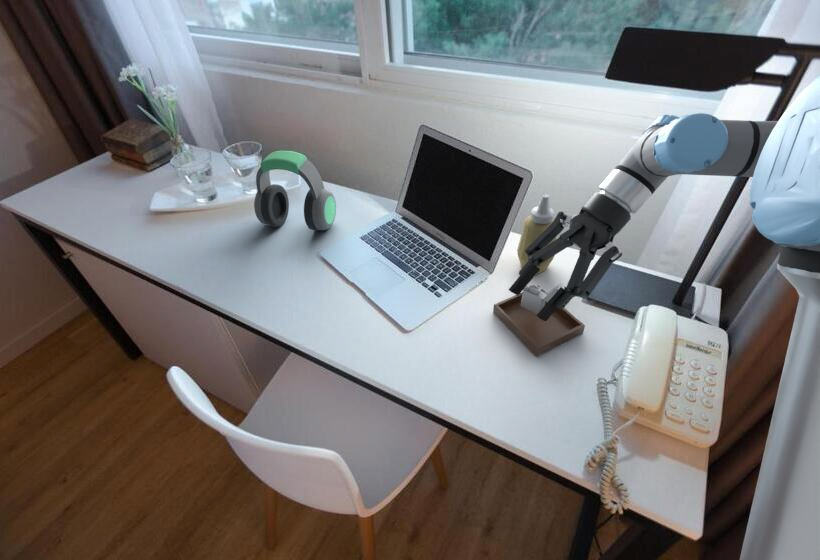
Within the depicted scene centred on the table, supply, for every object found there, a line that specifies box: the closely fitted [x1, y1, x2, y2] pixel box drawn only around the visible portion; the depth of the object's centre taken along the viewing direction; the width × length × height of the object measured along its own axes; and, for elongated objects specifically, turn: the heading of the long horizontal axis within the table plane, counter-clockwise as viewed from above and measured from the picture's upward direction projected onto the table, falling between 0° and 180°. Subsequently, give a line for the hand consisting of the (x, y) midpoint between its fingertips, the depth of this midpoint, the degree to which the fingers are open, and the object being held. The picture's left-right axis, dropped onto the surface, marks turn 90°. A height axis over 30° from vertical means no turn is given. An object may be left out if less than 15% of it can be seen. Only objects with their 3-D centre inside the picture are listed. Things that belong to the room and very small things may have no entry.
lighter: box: [521, 283, 565, 314], centre depth 80 cm, size 7×2×8 cm, turn 49°
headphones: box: [253, 150, 337, 232], centre depth 109 cm, size 19×11×20 cm, turn 77°
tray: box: [492, 284, 586, 358], centre depth 84 cm, size 13×11×2 cm
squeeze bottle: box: [516, 194, 557, 274], centre depth 92 cm, size 8×8×18 cm
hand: (526, 305), depth 79 cm, fingers closed on lighter, 7 cm apart
